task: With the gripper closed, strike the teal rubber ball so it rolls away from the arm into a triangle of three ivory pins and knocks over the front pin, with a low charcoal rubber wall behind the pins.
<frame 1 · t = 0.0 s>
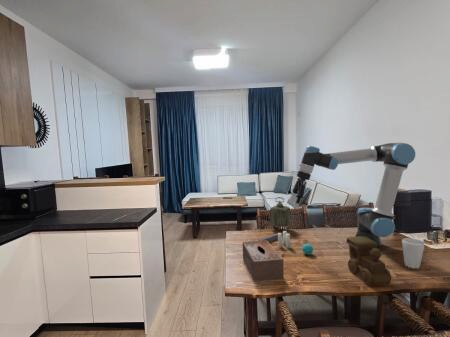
hand: (293, 205, 154), 28 cm above the table, tool tilted 20°, fingers open, 13 cm apart
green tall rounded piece: (279, 229, 197), on the table
foam cup: (412, 266, 134), on the table
right pin: (285, 244, 167), on the table
left pin: (280, 246, 164), on the table
wooden toy train: (367, 277, 124), on the table
back wall: (269, 241, 174), on the table
ball: (307, 249, 151), on the table
front pin: (288, 247, 162), on the table
tissue box cover: (261, 268, 136), on the table
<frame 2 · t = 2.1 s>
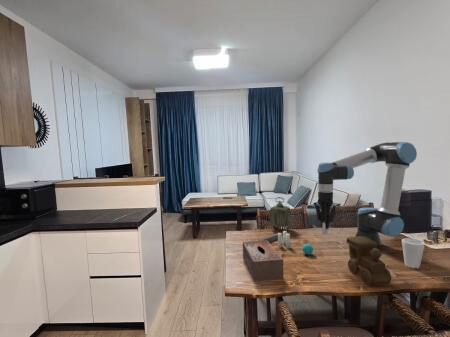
hand: (324, 233, 142), 15 cm above the table, tool pointing down, fingers closed
nothing on the table moved.
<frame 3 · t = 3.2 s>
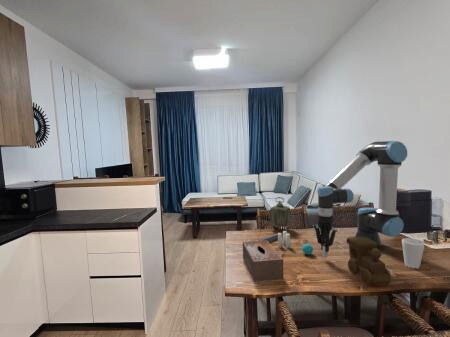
hand: (324, 256, 143), 2 cm above the table, tool pointing down, fingers closed
nothing on the table moved.
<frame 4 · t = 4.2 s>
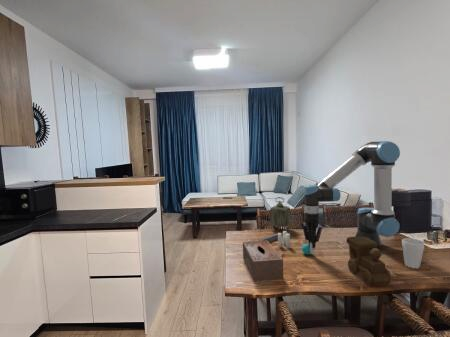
hand: (312, 253, 148), 2 cm above the table, tool pointing down, fingers closed
ball: (307, 249, 151), on the table, touching gripper
everything else where it was.
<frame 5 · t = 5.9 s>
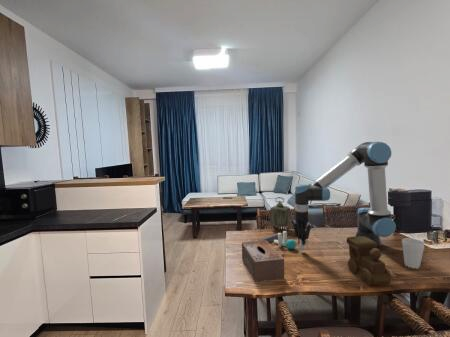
hand: (301, 249, 154), 2 cm above the table, tool pointing down, fingers closed
ball: (291, 244, 159), on the table
front pin: (285, 244, 164), point 1 cm above the table, tilted 90°
everything else where it was.
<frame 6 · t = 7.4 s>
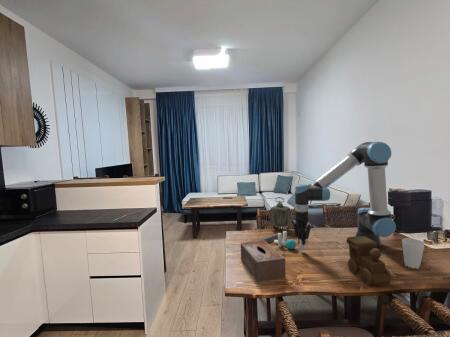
hand: (301, 249, 154), 2 cm above the table, tool pointing down, fingers closed
nothing on the table moved.
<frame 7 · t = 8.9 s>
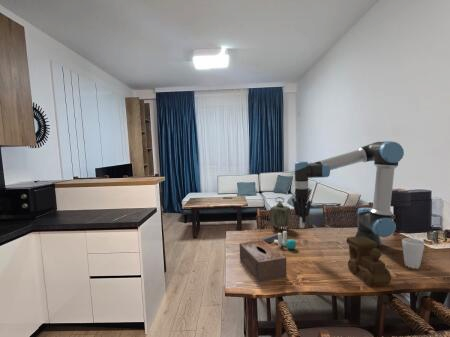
hand: (302, 227, 153), 15 cm above the table, tool pointing down, fingers closed
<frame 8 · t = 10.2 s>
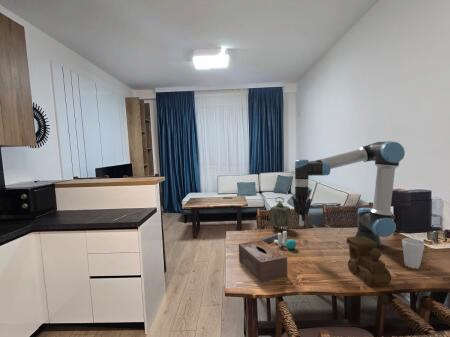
hand: (301, 225, 153), 16 cm above the table, tool pointing down, fingers closed
at the end: front pin tilted 90°; front pin never touched the robot; ball moved 11.3 cm from its start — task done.
